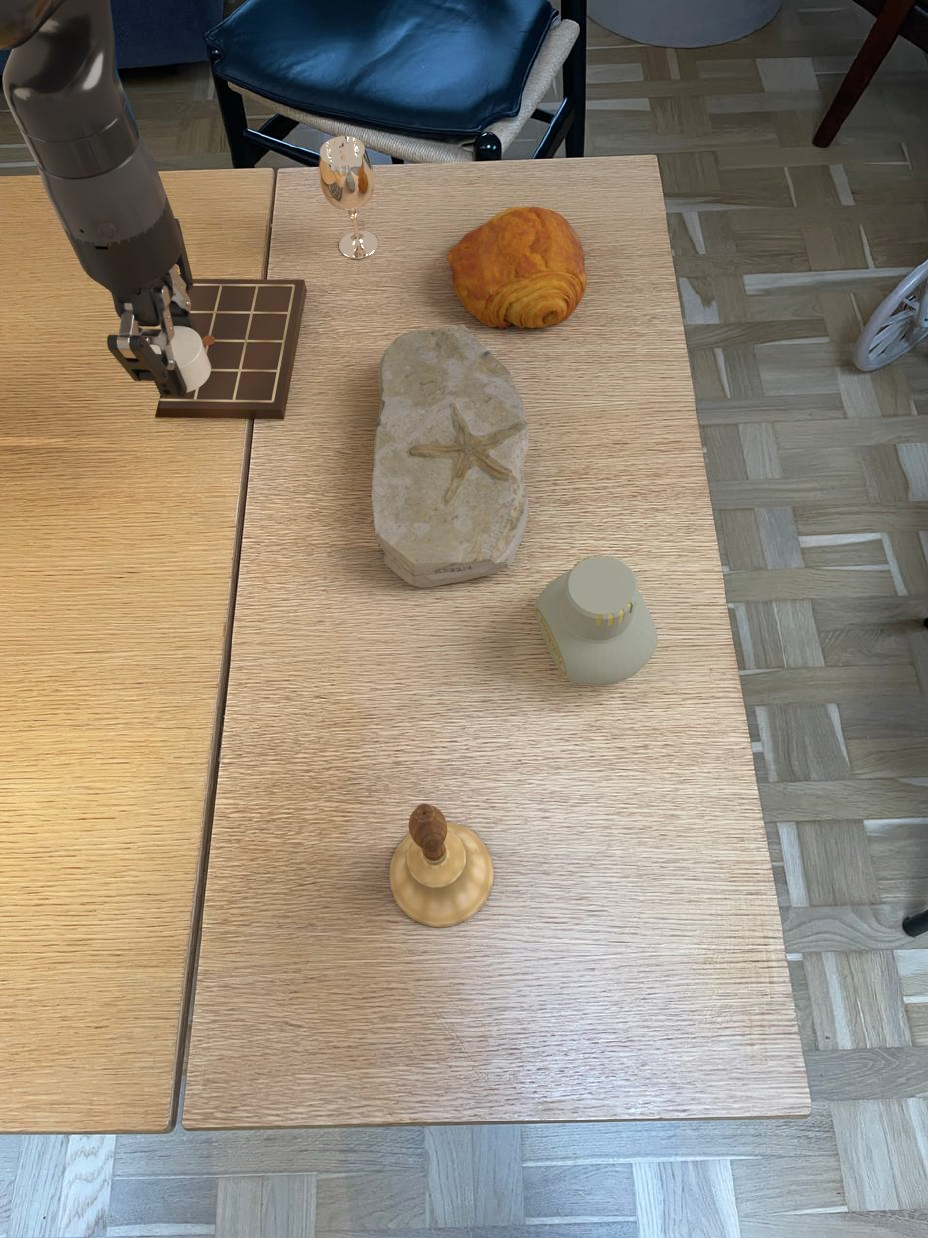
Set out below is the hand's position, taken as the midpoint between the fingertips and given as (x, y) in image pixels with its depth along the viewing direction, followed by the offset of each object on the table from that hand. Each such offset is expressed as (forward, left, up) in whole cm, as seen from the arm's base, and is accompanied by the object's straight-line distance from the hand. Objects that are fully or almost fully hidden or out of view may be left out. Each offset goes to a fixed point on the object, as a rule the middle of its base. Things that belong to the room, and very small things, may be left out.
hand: (181, 368), depth 83 cm
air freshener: (+36, -17, -15) cm, 43 cm away
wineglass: (+10, +32, -15) cm, 37 cm away
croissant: (+28, +26, -15) cm, 41 cm away
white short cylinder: (0, 0, 0) cm, 0 cm away
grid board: (-4, +16, -15) cm, 22 cm away
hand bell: (+24, -38, -15) cm, 47 cm away
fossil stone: (+22, +2, -15) cm, 27 cm away
